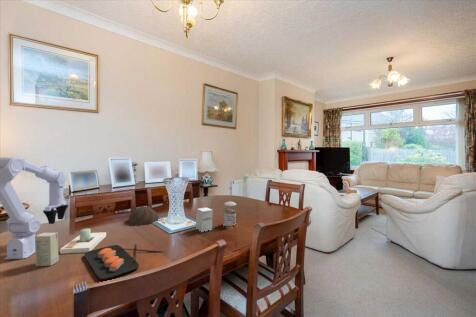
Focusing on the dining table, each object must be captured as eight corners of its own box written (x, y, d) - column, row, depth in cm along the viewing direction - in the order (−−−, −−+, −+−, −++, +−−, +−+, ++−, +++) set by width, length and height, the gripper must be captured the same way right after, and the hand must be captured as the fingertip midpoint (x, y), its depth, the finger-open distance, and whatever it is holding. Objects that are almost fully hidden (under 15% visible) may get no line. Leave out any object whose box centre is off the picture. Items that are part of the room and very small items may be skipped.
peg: (87, 245, 111) (87, 231, 110) (77, 246, 110) (77, 231, 110) (92, 242, 115) (92, 228, 115) (82, 242, 114) (82, 228, 114)
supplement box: (201, 232, 132) (202, 211, 132) (195, 229, 138) (196, 208, 137) (212, 230, 137) (213, 209, 136) (206, 226, 143) (206, 207, 142)
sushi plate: (82, 256, 100) (82, 248, 100) (149, 239, 121) (149, 232, 121) (99, 285, 80) (100, 275, 80) (176, 259, 101) (176, 250, 101)
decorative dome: (147, 227, 139) (148, 211, 139) (120, 224, 144) (120, 208, 143) (165, 218, 158) (165, 204, 158) (140, 216, 162) (140, 202, 162)
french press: (239, 226, 145) (240, 187, 144) (222, 228, 140) (223, 188, 140) (234, 222, 154) (235, 185, 153) (217, 223, 150) (218, 185, 149)
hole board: (89, 252, 104) (89, 247, 104) (59, 253, 102) (59, 248, 101) (106, 235, 123) (106, 231, 123) (81, 236, 121) (81, 232, 121)
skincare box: (59, 261, 95) (59, 232, 95) (50, 266, 91) (50, 236, 90) (43, 260, 95) (43, 232, 94) (34, 266, 90) (34, 235, 90)
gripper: (56, 197, 110) (56, 225, 110) (72, 192, 124) (72, 217, 125) (40, 198, 109) (40, 226, 109) (58, 192, 123) (58, 217, 123)
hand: (56, 221), depth 117 cm, fingers open, 7 cm apart
